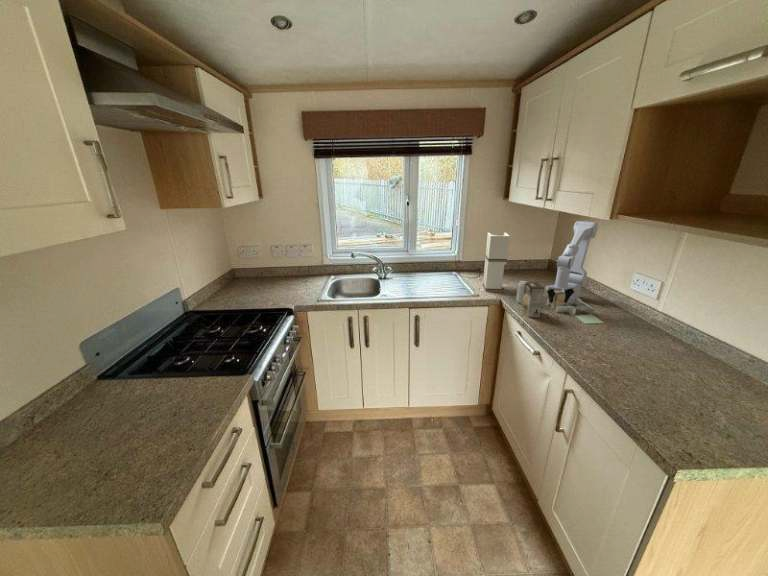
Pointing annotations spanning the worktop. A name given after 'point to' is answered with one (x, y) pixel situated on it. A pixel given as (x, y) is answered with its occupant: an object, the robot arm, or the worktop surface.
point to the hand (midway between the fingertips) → (557, 302)
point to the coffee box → (532, 299)
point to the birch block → (558, 299)
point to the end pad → (589, 319)
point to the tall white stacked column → (495, 262)
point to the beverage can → (520, 292)
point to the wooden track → (570, 309)
